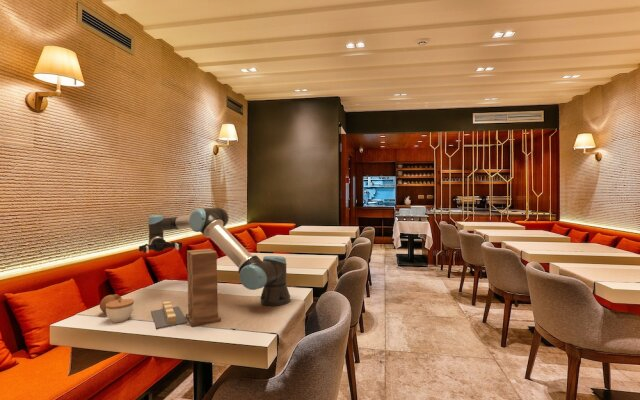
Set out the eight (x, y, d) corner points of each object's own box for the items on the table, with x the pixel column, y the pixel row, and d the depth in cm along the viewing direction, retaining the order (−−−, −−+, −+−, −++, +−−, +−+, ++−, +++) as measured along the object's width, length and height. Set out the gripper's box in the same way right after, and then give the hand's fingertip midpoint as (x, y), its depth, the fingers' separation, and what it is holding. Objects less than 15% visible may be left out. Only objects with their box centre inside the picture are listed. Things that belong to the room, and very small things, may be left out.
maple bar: (162, 306, 163) (162, 300, 163) (169, 305, 164) (169, 299, 164) (168, 324, 140) (168, 317, 140) (176, 322, 142) (175, 315, 142)
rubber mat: (151, 312, 157) (151, 311, 157) (178, 307, 163) (178, 306, 163) (156, 329, 137) (156, 327, 137) (187, 323, 143) (187, 321, 143)
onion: (121, 318, 158) (131, 299, 158) (102, 319, 150) (112, 299, 150) (111, 308, 162) (120, 289, 163) (91, 309, 154) (102, 289, 155)
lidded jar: (121, 325, 142) (120, 303, 142) (99, 323, 144) (99, 302, 144) (139, 316, 152) (139, 295, 152) (119, 315, 154) (118, 294, 154)
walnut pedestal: (185, 316, 150) (184, 250, 150) (212, 311, 157) (211, 248, 156) (191, 327, 138) (190, 255, 138) (220, 321, 145) (219, 252, 144)
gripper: (182, 248, 190) (190, 253, 172) (132, 253, 177) (134, 259, 158) (182, 235, 190) (189, 238, 172) (132, 239, 176) (134, 243, 158)
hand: (163, 248), depth 165 cm, fingers open, 13 cm apart
